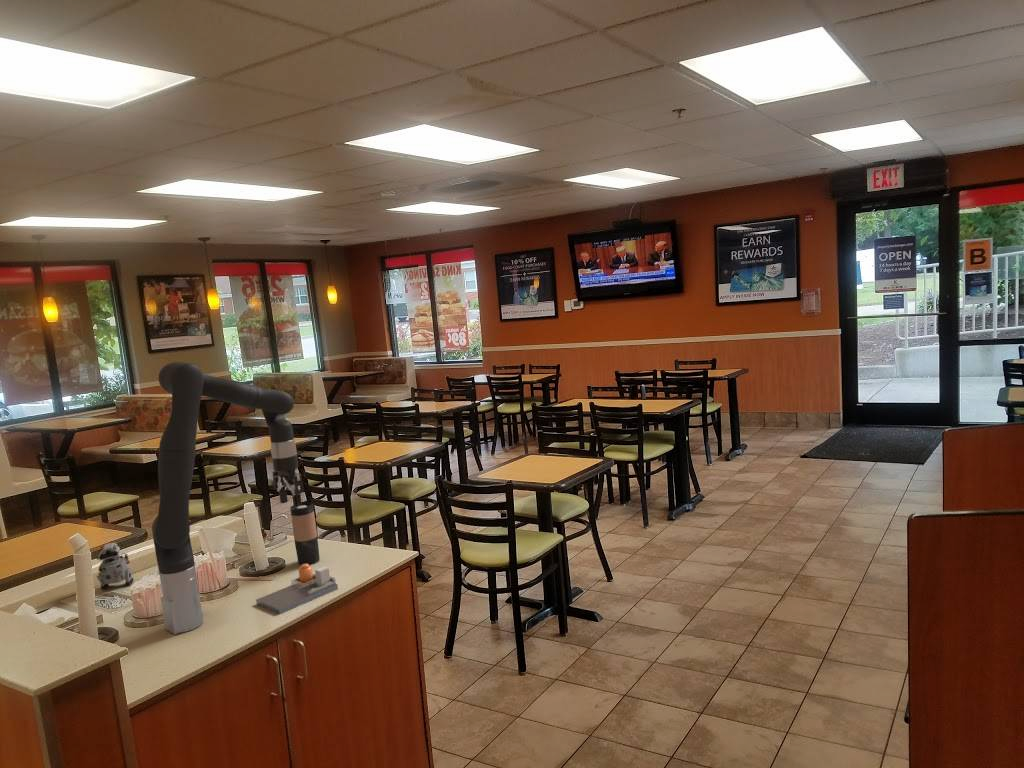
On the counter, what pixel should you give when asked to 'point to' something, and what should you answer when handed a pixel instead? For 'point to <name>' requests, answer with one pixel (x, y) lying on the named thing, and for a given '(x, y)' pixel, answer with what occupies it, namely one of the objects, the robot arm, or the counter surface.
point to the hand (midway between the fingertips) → (291, 504)
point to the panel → (295, 594)
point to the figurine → (113, 566)
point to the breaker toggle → (322, 576)
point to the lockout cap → (305, 573)
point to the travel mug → (305, 533)
